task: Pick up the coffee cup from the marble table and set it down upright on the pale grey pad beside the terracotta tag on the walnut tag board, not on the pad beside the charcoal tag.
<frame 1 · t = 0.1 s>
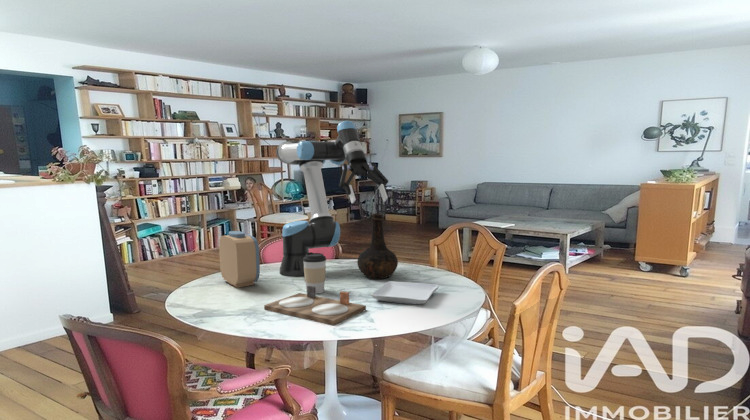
hand: (369, 200, 178), 36 cm above the table, tool tilted 35°, fingers open, 13 cm apart
alarm clock: (240, 283, 198), on the table
tag board: (314, 309, 162), on the table
salad plate: (406, 298, 177), on the table
coffee cup: (315, 291, 185), on the table
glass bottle: (377, 277, 208), on the table
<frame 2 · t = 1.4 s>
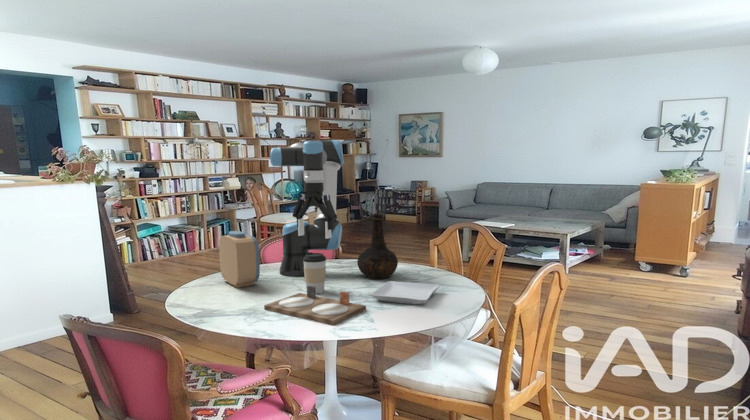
hand: (314, 236, 183), 22 cm above the table, tool pointing down, fingers open, 13 cm apart
nothing on the table moved.
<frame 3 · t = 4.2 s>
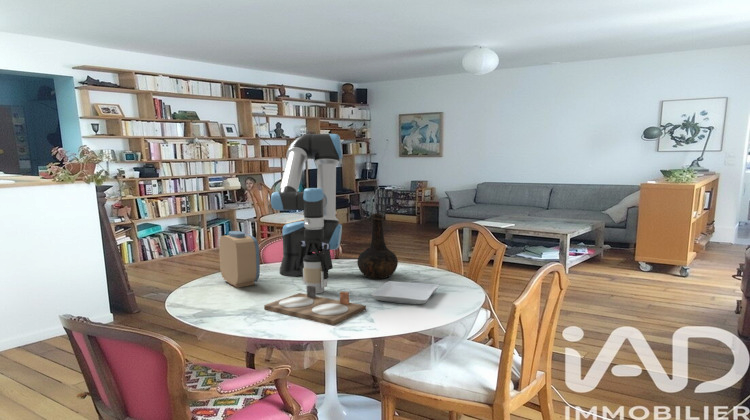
hand: (315, 285, 185), 2 cm above the table, tool pointing down, fingers closed on coffee cup, 8 cm apart
coffee cup: (315, 291, 185), on the table, touching gripper
everything else where it was.
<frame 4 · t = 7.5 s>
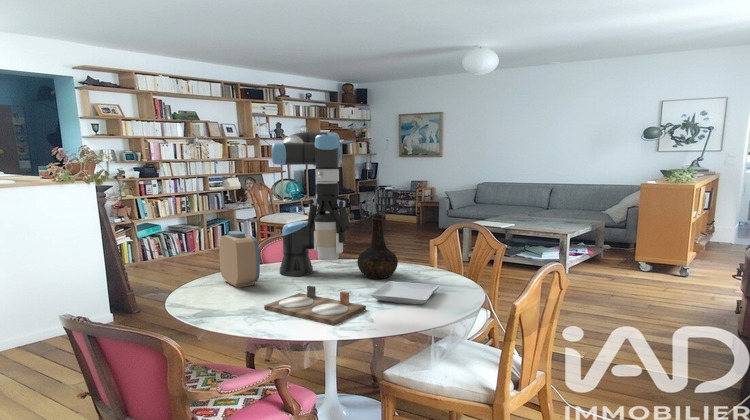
hand: (328, 251, 156), 21 cm above the table, tool pointing down, fingers closed on coffee cup, 8 cm apart
coffee cup: (328, 258, 156), point 19 cm above the table, touching gripper
everything else where it was.
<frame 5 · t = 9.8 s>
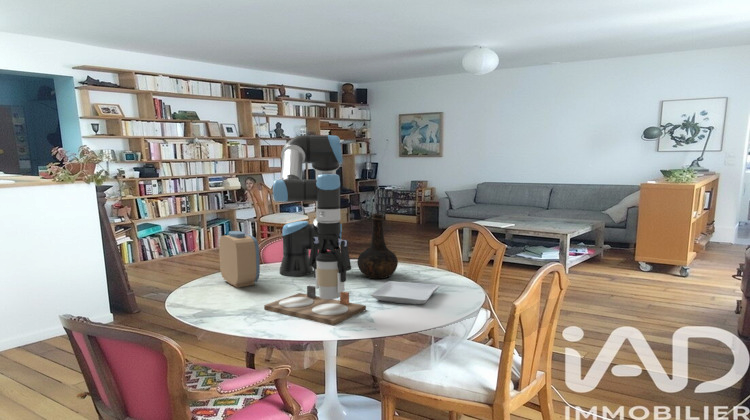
hand: (329, 289, 156), 8 cm above the table, tool pointing down, fingers closed on coffee cup, 8 cm apart
coffee cup: (330, 296, 156), point 6 cm above the table, touching gripper
everything else where it was.
when the fingers open (6 cm above the table, at t = 11.3 s): coffee cup drops 1 cm, resting on tag board.
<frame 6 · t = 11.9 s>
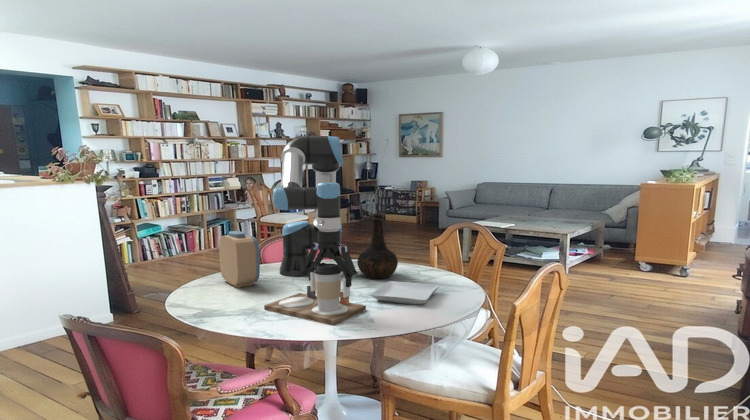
hand: (330, 293, 156), 7 cm above the table, tool pointing down, fingers open, 13 cm apart
coffee cup: (328, 309, 157), point 2 cm above the table, touching tag board
everything else where it was.
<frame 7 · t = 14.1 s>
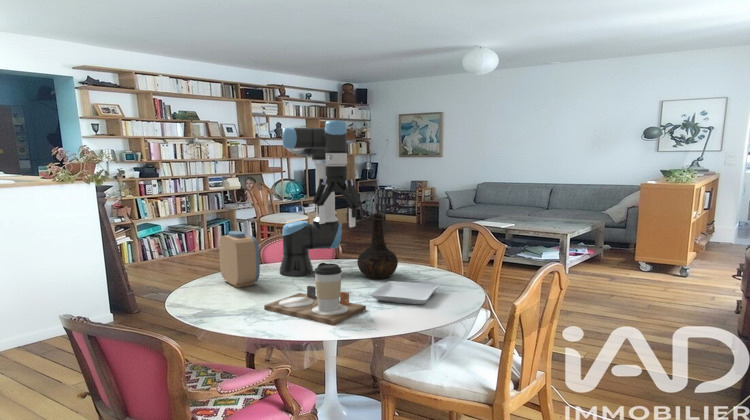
hand: (336, 225, 168), 28 cm above the table, tool pointing down, fingers open, 13 cm apart
nothing on the table moved.
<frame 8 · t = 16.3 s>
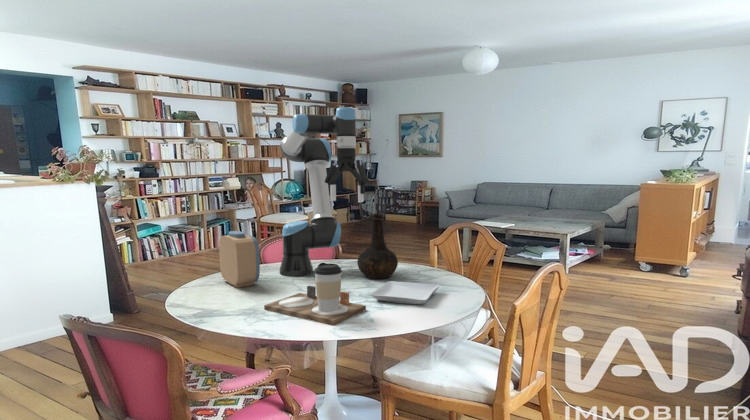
hand: (346, 201, 188), 35 cm above the table, tool pointing down, fingers open, 13 cm apart
nothing on the table moved.
at the end: coffee cup 0.6 cm from the target spot on the tag board, point 1.6 cm above the tag board's base; coffee cup tilted 0°; the gripper is holding nothing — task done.
